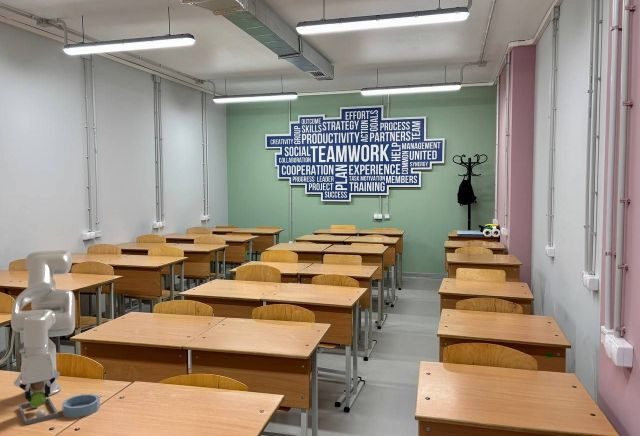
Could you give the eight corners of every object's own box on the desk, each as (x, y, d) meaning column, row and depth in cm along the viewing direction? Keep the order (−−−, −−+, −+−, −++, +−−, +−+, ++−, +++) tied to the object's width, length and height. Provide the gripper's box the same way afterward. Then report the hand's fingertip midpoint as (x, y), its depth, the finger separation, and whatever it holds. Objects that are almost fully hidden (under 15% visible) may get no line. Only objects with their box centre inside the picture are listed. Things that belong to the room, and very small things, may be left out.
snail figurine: (30, 402, 187) (29, 371, 185) (48, 402, 187) (47, 371, 186) (23, 409, 181) (22, 377, 180) (42, 409, 182) (41, 377, 181)
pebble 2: (35, 417, 179) (34, 409, 179) (44, 415, 181) (44, 407, 181) (36, 421, 177) (36, 412, 177) (46, 418, 179) (46, 410, 179)
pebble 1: (30, 407, 188) (29, 399, 188) (39, 405, 190) (39, 397, 190) (31, 410, 186) (31, 402, 186) (40, 407, 188) (40, 400, 187)
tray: (18, 408, 187) (18, 404, 187) (49, 401, 193) (49, 397, 193) (25, 425, 174) (25, 420, 174) (58, 417, 180) (58, 412, 180)
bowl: (59, 408, 187) (59, 399, 187) (94, 400, 194) (94, 391, 194) (67, 420, 178) (66, 410, 177) (103, 411, 185) (102, 402, 185)
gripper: (10, 358, 174) (12, 408, 176) (64, 348, 185) (65, 396, 187) (7, 351, 180) (9, 400, 182) (60, 342, 191) (61, 388, 192)
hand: (37, 397), depth 184 cm, fingers closed on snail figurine, 5 cm apart
